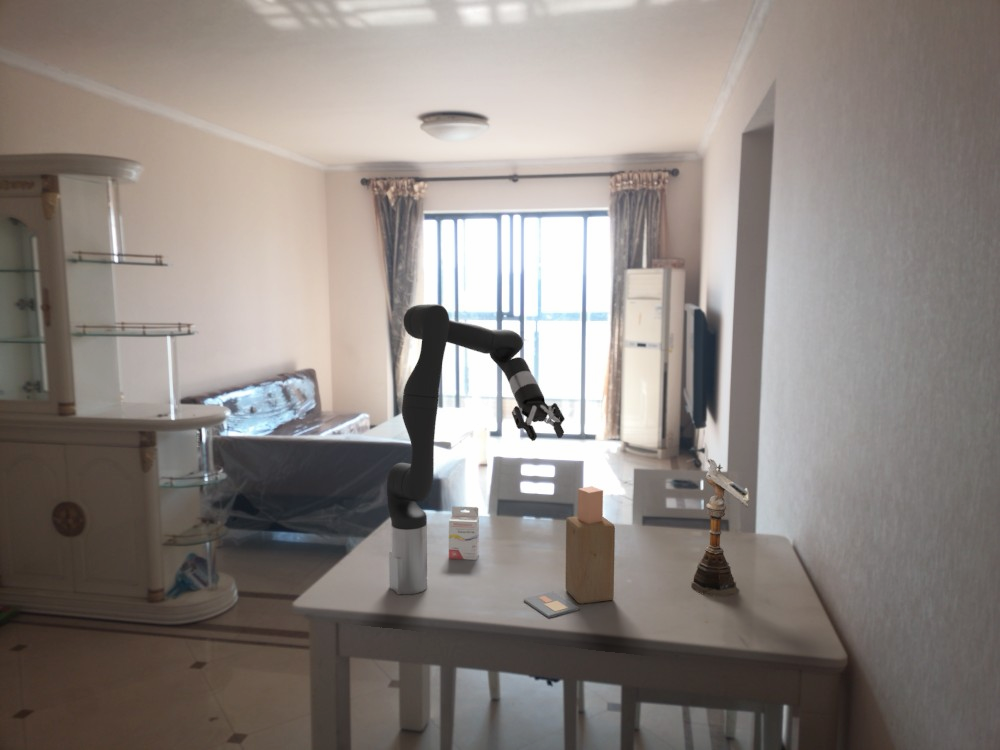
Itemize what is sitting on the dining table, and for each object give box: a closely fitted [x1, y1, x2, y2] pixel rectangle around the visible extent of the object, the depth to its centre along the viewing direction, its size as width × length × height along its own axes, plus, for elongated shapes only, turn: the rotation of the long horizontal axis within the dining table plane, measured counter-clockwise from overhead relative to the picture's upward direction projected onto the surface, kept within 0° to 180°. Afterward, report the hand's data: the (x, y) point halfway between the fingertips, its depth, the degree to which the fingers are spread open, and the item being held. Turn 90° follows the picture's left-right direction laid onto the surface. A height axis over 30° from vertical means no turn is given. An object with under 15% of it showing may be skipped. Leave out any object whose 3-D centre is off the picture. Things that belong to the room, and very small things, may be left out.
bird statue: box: [690, 458, 750, 597], centre depth 184 cm, size 17×13×35 cm
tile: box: [523, 591, 580, 619], centre depth 174 cm, size 9×11×1 cm
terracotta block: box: [577, 485, 604, 524], centre depth 178 cm, size 4×4×8 cm
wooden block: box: [565, 515, 616, 604], centre depth 179 cm, size 10×10×20 cm
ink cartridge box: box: [448, 505, 480, 561], centre depth 207 cm, size 9×5×15 cm, turn 84°
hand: (548, 437), depth 188 cm, fingers open, 8 cm apart
